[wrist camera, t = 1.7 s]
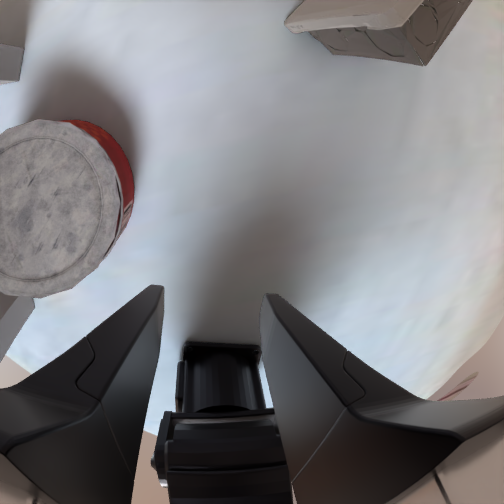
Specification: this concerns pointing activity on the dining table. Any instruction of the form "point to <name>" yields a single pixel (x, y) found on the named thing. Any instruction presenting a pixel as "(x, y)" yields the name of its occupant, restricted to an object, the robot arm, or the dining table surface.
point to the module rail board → (3, 306)
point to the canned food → (59, 204)
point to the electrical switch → (379, 26)
